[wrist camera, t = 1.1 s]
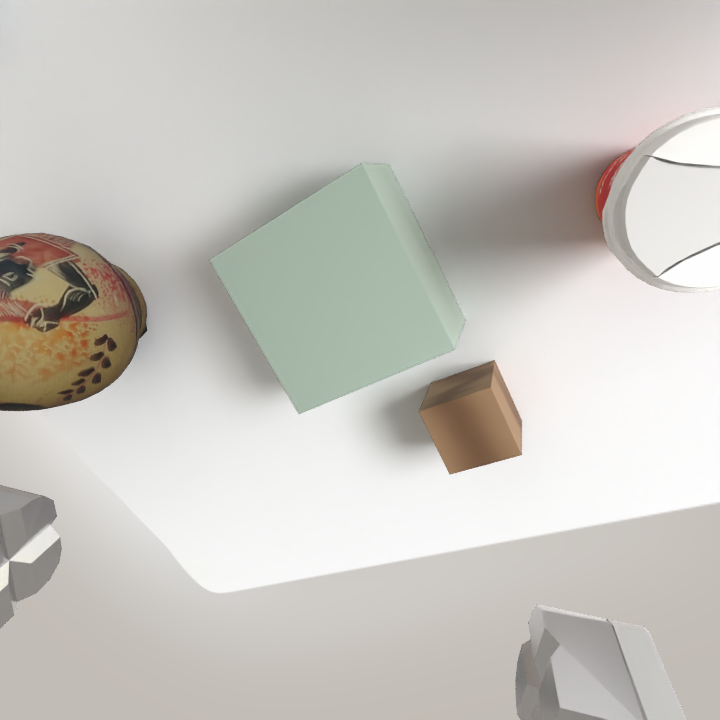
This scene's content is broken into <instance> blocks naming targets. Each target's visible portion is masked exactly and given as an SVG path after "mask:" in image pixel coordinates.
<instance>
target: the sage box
mask: <svg viewBox="0 0 720 720" xmlns="http://www.w3.org/2000/svg"><path fill="white" fill-rule="evenodd" d="M209 261H210V262H211V264H212V266H213V268H214V269H215V271H216V273H217V274H218V276H219V278H220V280H221V281H222V283H223V285H224V286H225V288H226V290H227V292H228V293H229V295H230V297H231V299H232V300H233V302H234V304H235V305H236V307H237V309H238V311H239V312H240V314H241V316H242V317H243V319H244V321H245V323H246V324H247V326H248V328H249V330H250V331H251V333H252V335H253V336H254V338H255V340H256V342H257V343H258V345H259V347H260V348H261V350H262V352H263V354H264V355H265V357H266V359H267V360H268V362H269V364H270V366H271V367H272V369H273V371H274V373H275V374H276V376H277V378H278V379H279V381H280V383H281V385H282V386H283V388H284V390H285V391H286V393H287V395H288V397H289V398H290V400H291V402H292V404H293V405H294V407H295V409H296V410H297V412H298V414H301V413H303V412H305V411H308V410H310V409H313V408H315V407H317V406H320V405H322V404H325V403H327V402H330V401H332V400H334V399H337V398H339V397H342V396H344V395H346V394H349V393H351V392H354V391H356V390H359V389H361V388H363V387H366V386H368V385H371V384H373V383H375V382H378V381H380V380H383V379H385V378H388V377H390V376H392V375H395V374H397V373H400V372H402V371H404V370H407V369H409V368H412V367H414V366H416V365H419V364H421V363H424V362H426V361H429V360H431V359H433V358H436V357H438V356H441V355H443V354H445V353H448V352H450V351H453V350H455V348H456V346H457V343H458V340H459V337H460V335H461V332H462V329H463V326H464V324H465V321H466V319H465V317H464V315H463V313H462V311H461V309H460V307H459V305H458V303H457V301H456V299H455V297H454V295H453V293H452V291H451V289H450V287H449V285H448V282H447V280H446V278H445V276H444V274H443V272H442V270H441V268H440V266H439V264H438V262H437V260H436V258H435V256H434V254H433V252H432V250H431V248H430V246H429V244H428V242H427V240H426V238H425V236H424V234H423V232H422V230H421V227H420V225H419V223H418V221H417V219H416V217H415V215H414V213H413V211H412V209H411V207H410V205H409V203H408V201H407V199H406V197H405V195H404V193H403V191H402V189H401V187H400V185H399V183H398V181H397V179H396V177H395V175H394V172H393V170H392V168H391V166H390V164H369V163H361V164H360V165H358V166H356V167H355V168H353V169H352V170H350V171H349V172H347V173H345V174H344V175H342V176H341V177H339V178H337V179H336V180H334V181H333V182H331V183H330V184H328V185H326V186H325V187H323V188H322V189H320V190H319V191H317V192H315V193H314V194H312V195H311V196H309V197H308V198H306V199H304V200H303V201H301V202H300V203H298V204H297V205H295V206H293V207H292V208H290V209H289V210H287V211H285V212H284V213H282V214H281V215H279V216H278V217H276V218H274V219H273V220H271V221H270V222H268V223H267V224H265V225H263V226H262V227H260V228H259V229H257V230H256V231H254V232H252V233H251V234H249V235H248V236H246V237H244V238H243V239H241V240H240V241H238V242H237V243H235V244H233V245H232V246H230V247H229V248H227V249H226V250H224V251H222V252H221V253H219V254H218V255H216V256H215V257H213V258H211V259H210V260H209Z"/></svg>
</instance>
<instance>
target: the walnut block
mask: <svg viewBox="0 0 720 720" xmlns="http://www.w3.org/2000/svg"><path fill="white" fill-rule="evenodd" d="M419 413H420V415H421V417H422V419H423V421H424V423H425V425H426V427H427V429H428V431H429V433H430V435H431V437H432V439H433V441H434V443H435V446H436V448H437V450H438V452H439V454H440V456H441V458H442V460H443V462H444V464H445V466H446V468H447V470H448V472H449V474H454V473H457V472H461V471H465V470H468V469H472V468H476V467H479V466H483V465H487V464H490V463H494V462H498V461H501V460H505V459H509V458H512V457H516V456H520V455H522V420H521V418H520V415H519V413H518V411H517V409H516V407H515V404H514V402H513V400H512V398H511V395H510V393H509V391H508V389H507V387H506V384H505V382H504V380H503V378H502V375H501V373H500V371H499V369H498V367H497V364H496V362H495V360H494V361H491V362H489V363H486V364H483V365H480V366H477V367H475V368H472V369H469V370H466V371H463V372H461V373H458V374H455V375H452V376H450V377H447V378H444V379H441V380H438V381H436V382H433V383H431V384H430V386H429V389H428V391H427V393H426V396H425V398H424V400H423V403H422V405H421V407H420V410H419Z"/></svg>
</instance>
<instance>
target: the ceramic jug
mask: <svg viewBox="0 0 720 720" xmlns="http://www.w3.org/2000/svg"><path fill="white" fill-rule="evenodd" d="M146 318H147V310H146V303H145V300H144V297H143V295H142V293H141V291H140V289H139V287H138V286H137V284H136V283H135V281H134V280H133V279H132V278H131V277H130V276H129V275H128V274H127V273H126V272H125V271H124V270H123V269H121V268H119V267H117V266H115V265H113V264H111V263H109V262H108V261H107V260H106V259H105V258H104V257H102V256H101V255H100V254H99V253H98V252H96V251H95V250H94V249H92V248H91V247H89V246H87V245H84V244H81V243H78V242H76V241H73V240H70V239H67V238H64V237H60V236H55V235H51V234H45V233H31V234H20V235H11V236H6V237H2V238H0V410H2V411H28V410H29V411H30V410H41V409H48V408H52V407H57V406H62V405H66V404H70V403H74V402H78V401H81V400H84V399H86V398H88V397H90V396H92V395H94V394H96V393H98V392H100V391H102V390H103V389H105V388H106V387H108V386H109V385H110V384H112V383H113V382H114V381H115V380H117V379H118V377H119V376H120V375H121V374H122V373H123V372H124V370H125V369H126V368H127V366H128V365H129V364H130V362H131V360H132V358H133V356H134V354H135V351H136V348H137V345H138V340H139V338H141V337H142V336H143V335H144V333H145V332H146V331H147V327H146Z"/></svg>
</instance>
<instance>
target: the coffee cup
mask: <svg viewBox="0 0 720 720" xmlns="http://www.w3.org/2000/svg"><path fill="white" fill-rule="evenodd" d="M595 205H596V210H597V213H598V216H599V218H600V220H601V222H602V225H603V230H604V236H605V240H606V242H607V245H608V248H609V250H610V251H611V252H612V253H613V254H614V255H615V256H616V257H617V258H618V259H619V261H620V262H621V263H622V264H623V265H624V266H625V267H626V269H627V270H628V271H630V272H631V273H632V274H633V275H635V276H636V277H637V278H639V279H640V280H642V281H644V282H646V283H648V284H649V285H652V286H655V287H658V288H660V289H664V290H669V291H674V292H685V293H696V292H708V291H712V290H717V289H720V106H717V107H711V108H706V109H701V110H698V111H695V112H692V113H688V114H685V115H683V116H681V117H679V118H677V119H674V120H672V121H670V122H668V123H667V124H665V125H663V126H662V127H660V128H659V129H657V130H656V131H654V132H653V133H652V134H650V135H649V136H648V137H647V138H646V139H645V140H643V141H642V142H641V143H640V144H639V145H638V146H637V147H635V148H633V149H632V150H630V151H628V152H626V153H625V154H623V155H622V156H620V157H619V158H617V159H616V160H615V161H614V162H613V163H612V164H611V165H610V166H609V167H608V168H607V169H606V170H605V172H604V173H603V175H602V176H601V178H600V180H599V182H598V185H597V189H596V193H595Z"/></svg>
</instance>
